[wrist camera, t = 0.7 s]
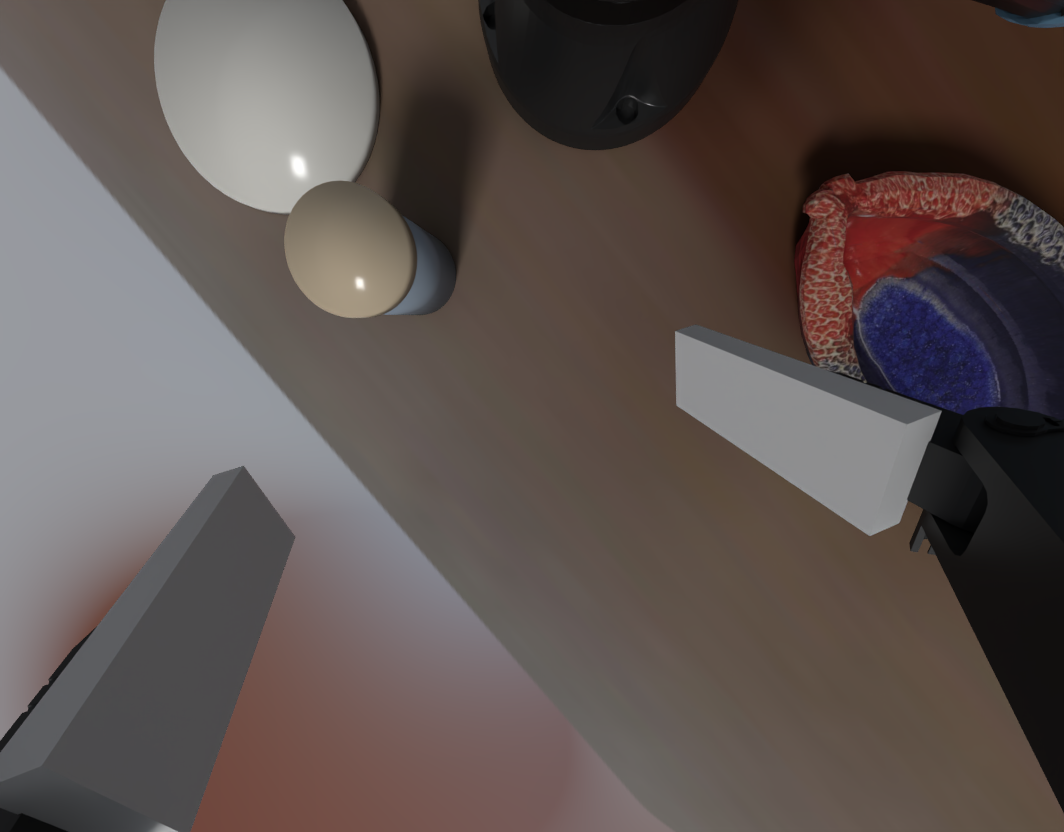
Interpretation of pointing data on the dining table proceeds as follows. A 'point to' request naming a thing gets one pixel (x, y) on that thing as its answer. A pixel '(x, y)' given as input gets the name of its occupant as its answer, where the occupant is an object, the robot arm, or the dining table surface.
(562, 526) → the dining table surface
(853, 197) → the dish
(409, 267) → the jar
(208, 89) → the plate
